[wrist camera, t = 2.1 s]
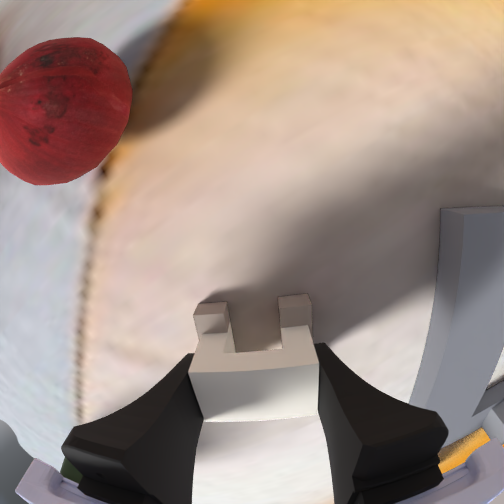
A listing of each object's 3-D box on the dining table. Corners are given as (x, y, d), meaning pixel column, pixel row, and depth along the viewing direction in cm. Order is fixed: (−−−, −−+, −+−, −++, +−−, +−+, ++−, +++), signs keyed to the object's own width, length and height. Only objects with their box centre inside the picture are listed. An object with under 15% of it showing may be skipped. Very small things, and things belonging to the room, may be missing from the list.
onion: (142, 49, 10) (47, -32, 2) (175, 146, 11) (49, 110, 3) (55, 107, 10) (-56, 89, 3) (79, 198, 12) (-50, 232, 4)
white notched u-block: (309, 373, 14) (320, 427, 10) (216, 381, 14) (205, 434, 10) (307, 293, 13) (324, 339, 9) (198, 303, 13) (176, 351, 9)
